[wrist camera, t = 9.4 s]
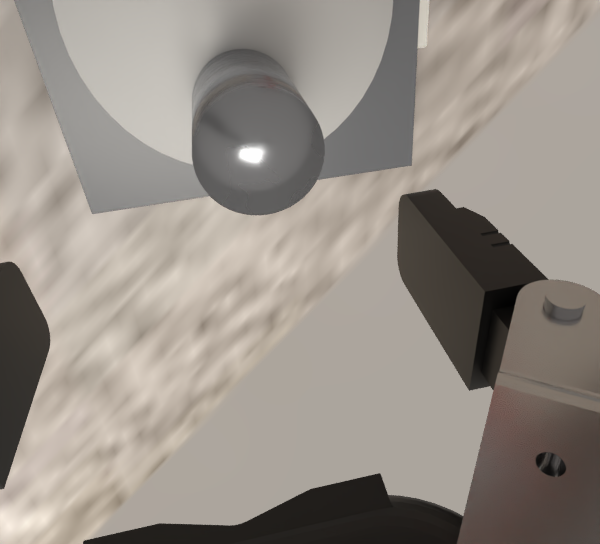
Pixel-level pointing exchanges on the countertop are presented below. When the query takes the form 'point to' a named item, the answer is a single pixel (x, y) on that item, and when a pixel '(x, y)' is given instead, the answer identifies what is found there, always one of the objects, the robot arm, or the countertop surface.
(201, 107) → the cylinder
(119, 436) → the countertop surface
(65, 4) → the scale
